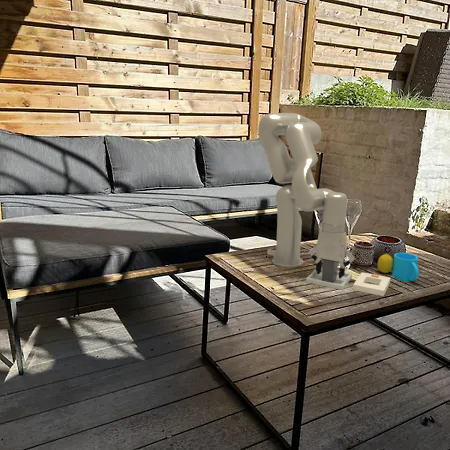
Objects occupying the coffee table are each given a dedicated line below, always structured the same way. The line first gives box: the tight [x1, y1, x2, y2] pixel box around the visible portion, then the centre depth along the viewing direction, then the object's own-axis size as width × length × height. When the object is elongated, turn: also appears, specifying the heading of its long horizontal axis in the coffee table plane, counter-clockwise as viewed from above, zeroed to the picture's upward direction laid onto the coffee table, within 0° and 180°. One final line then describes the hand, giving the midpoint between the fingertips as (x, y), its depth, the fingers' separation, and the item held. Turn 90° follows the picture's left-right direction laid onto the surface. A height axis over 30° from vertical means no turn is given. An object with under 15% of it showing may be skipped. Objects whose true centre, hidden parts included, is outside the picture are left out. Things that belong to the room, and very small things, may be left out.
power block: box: [352, 272, 392, 297], centre depth 146 cm, size 10×13×3 cm
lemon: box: [377, 253, 394, 274], centre depth 158 cm, size 6×6×8 cm
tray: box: [305, 267, 353, 291], centre depth 151 cm, size 13×13×2 cm
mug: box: [391, 252, 420, 282], centre depth 153 cm, size 12×8×8 cm
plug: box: [322, 259, 339, 283], centre depth 150 cm, size 4×5×8 cm
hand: (329, 274), depth 151 cm, fingers open, 7 cm apart
